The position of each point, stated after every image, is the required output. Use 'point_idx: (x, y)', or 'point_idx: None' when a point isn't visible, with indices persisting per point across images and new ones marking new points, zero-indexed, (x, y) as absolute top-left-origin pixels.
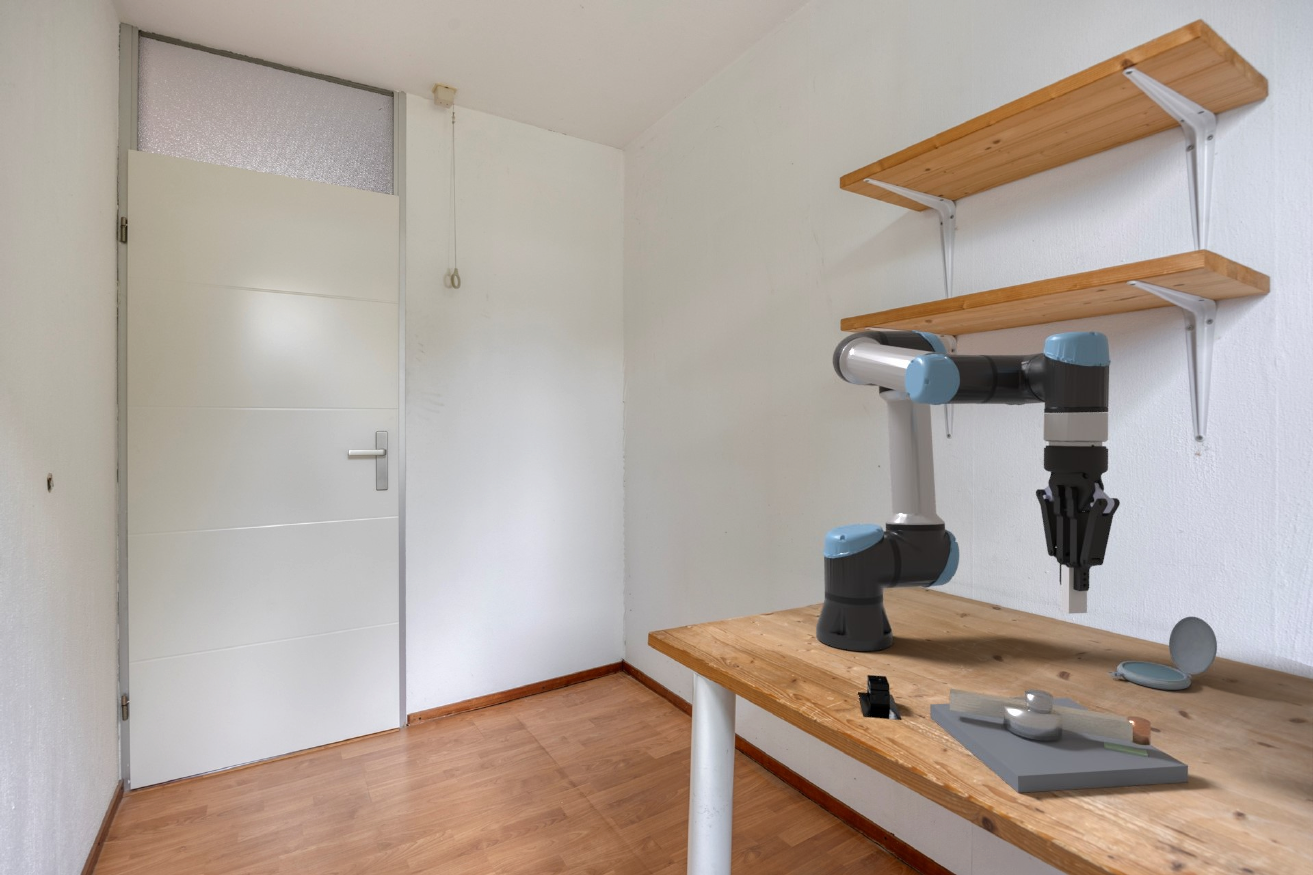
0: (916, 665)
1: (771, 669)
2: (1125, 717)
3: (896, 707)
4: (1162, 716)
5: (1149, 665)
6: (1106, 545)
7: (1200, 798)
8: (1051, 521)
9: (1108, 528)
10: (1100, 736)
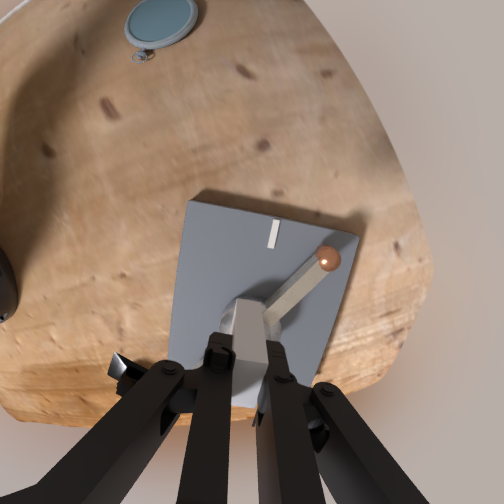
0: (49, 270)
1: (61, 399)
2: (317, 265)
3: (144, 368)
4: (241, 100)
5: (144, 6)
6: (370, 430)
7: (373, 252)
8: (129, 485)
9: (402, 479)
10: (285, 262)
